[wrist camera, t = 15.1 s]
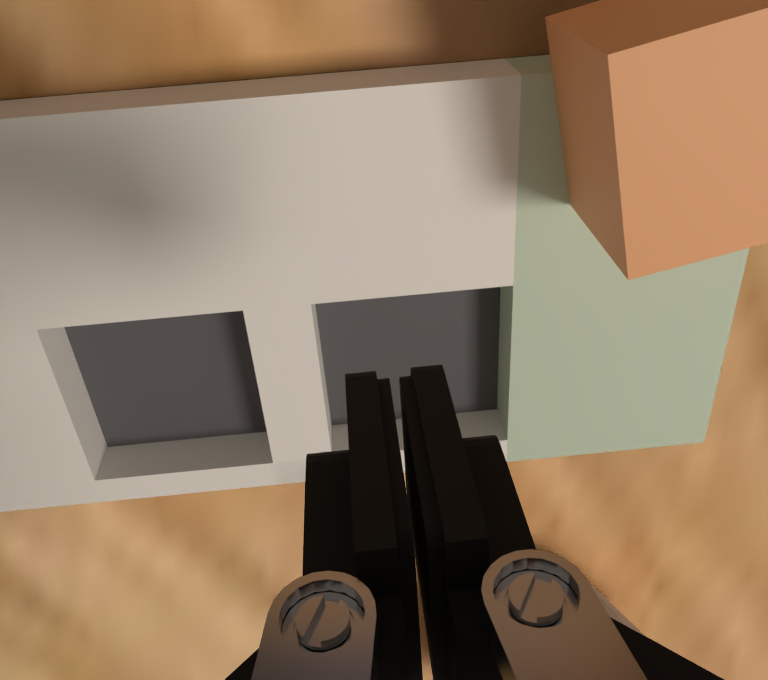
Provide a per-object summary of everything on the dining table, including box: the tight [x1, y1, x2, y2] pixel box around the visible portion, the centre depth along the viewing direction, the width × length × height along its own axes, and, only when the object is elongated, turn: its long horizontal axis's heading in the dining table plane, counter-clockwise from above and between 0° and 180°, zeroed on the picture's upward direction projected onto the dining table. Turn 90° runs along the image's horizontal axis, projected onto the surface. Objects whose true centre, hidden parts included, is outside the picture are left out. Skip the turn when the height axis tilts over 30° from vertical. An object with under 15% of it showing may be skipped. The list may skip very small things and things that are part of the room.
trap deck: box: [0, 55, 749, 512], centre depth 22 cm, size 13×29×2 cm, turn 94°
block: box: [545, 0, 768, 280], centre depth 16 cm, size 5×5×4 cm
